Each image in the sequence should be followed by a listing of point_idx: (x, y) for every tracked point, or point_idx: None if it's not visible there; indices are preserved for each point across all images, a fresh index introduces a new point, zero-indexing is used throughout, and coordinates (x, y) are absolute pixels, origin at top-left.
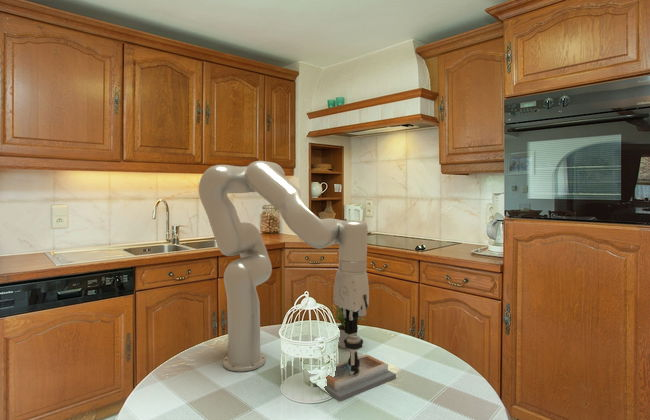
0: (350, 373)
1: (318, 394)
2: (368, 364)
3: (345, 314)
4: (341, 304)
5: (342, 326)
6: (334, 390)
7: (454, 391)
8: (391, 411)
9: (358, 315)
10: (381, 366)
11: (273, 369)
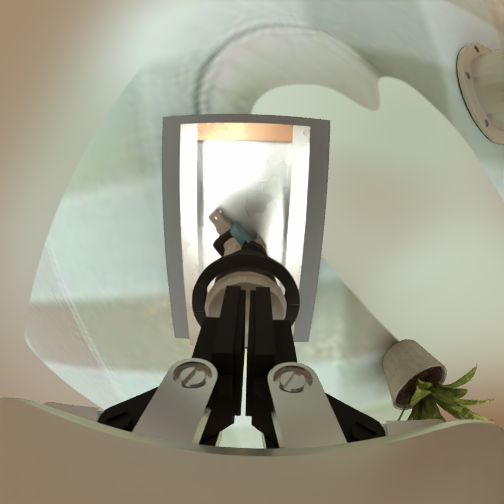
0: (217, 214)
1: (240, 92)
2: None
3: (280, 393)
4: (309, 494)
5: (435, 381)
6: None
7: (84, 359)
8: (69, 204)
9: (95, 412)
10: (190, 323)
11: (440, 106)
